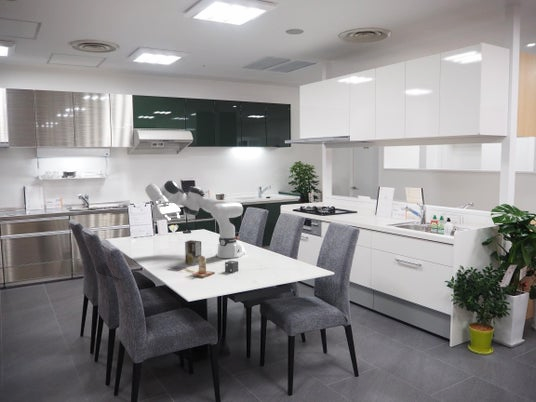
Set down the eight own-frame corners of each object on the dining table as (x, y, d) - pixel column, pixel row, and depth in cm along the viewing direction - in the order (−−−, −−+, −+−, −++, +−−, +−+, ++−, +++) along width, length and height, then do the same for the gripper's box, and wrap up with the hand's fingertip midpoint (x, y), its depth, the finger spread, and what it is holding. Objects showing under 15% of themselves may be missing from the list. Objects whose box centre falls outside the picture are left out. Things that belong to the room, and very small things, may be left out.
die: (230, 269, 290) (230, 260, 289) (238, 270, 287) (238, 261, 287) (225, 271, 285) (224, 262, 284) (233, 273, 282) (233, 263, 281)
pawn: (201, 271, 280) (202, 254, 279) (207, 272, 278) (207, 255, 277) (197, 273, 277) (197, 256, 275) (202, 274, 274) (202, 257, 273)
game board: (176, 267, 295) (176, 265, 294) (214, 273, 280) (214, 271, 280) (164, 271, 284) (164, 270, 284) (202, 278, 270) (202, 276, 270)
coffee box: (202, 265, 302) (201, 241, 301) (195, 267, 297) (195, 242, 295) (191, 263, 307) (191, 239, 305) (185, 265, 301) (184, 241, 300)
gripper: (170, 205, 306) (182, 221, 302) (149, 208, 288) (161, 225, 285) (175, 199, 303) (187, 214, 300) (154, 202, 286) (166, 218, 282)
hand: (174, 219), depth 292 cm, fingers open, 8 cm apart
